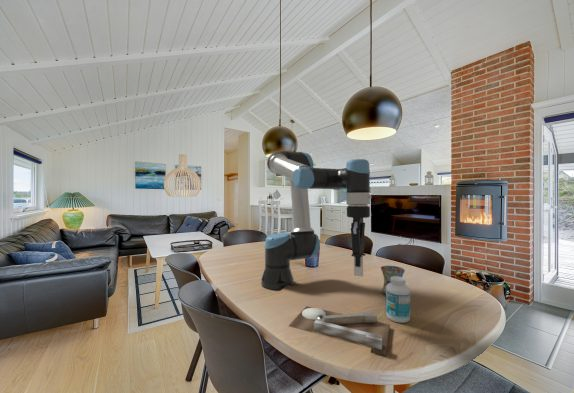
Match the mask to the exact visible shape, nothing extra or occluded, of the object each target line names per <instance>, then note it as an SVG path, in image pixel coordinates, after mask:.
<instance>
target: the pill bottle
mask: <svg viewBox="0 0 574 393" xmlns="http://www.w3.org/2000/svg"><path fill="white" fill-rule="evenodd" d="M390 281H391V283H389V284H387V286H386V294H385V295H386V296H385V316H386V317H387V318H388V320H390V321H392V322H395V323H402V324H404V323H408V322H409V321H410V320H411V289H410V287H409V286H408V285H407V284H406V281H407V280H406V278H404V277H403V276H402V277H399V276H392V277H391V278H390Z"/></svg>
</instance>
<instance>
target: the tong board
mask: <svg viewBox="0 0 574 393" xmlns="http://www.w3.org/2000/svg"><path fill="white" fill-rule="evenodd" d="M308 308H313V307H311V306H307V305H306V306H305V307H304V308H303V309H302V311H303V310H305V309H308ZM320 309H321V308H320ZM321 310H323V311H324V312H325V313H326V316H329V315H342V314H343V313H340V312H335V311H330V310H325V309H321ZM302 311H301V312H299V314H298V315H297V316H296V317H295V318H294V319H293V320H291V322H290V323H289V324H288V327H289V328H290V327H291V328H295V329H298V330H301V331H306V332H308V333H314V334H317V335H319V336H324V337H328V338H332V339H336V340H339V341H344V342H347V343H351V344H355V345H359V346H362V347H365V348H369V349H370V353H372V354H375V355H379V356H383V357H387V350H388V342H389V336H390V335H389V334H390V328H391V324H390V323H386V322H380V321H377V322H372V323H365V322H363V323H351V324H339V325H334V324H330V323H326V322H322V321H318V320H309V319H306V318H304V317H303V315H302Z"/></svg>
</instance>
